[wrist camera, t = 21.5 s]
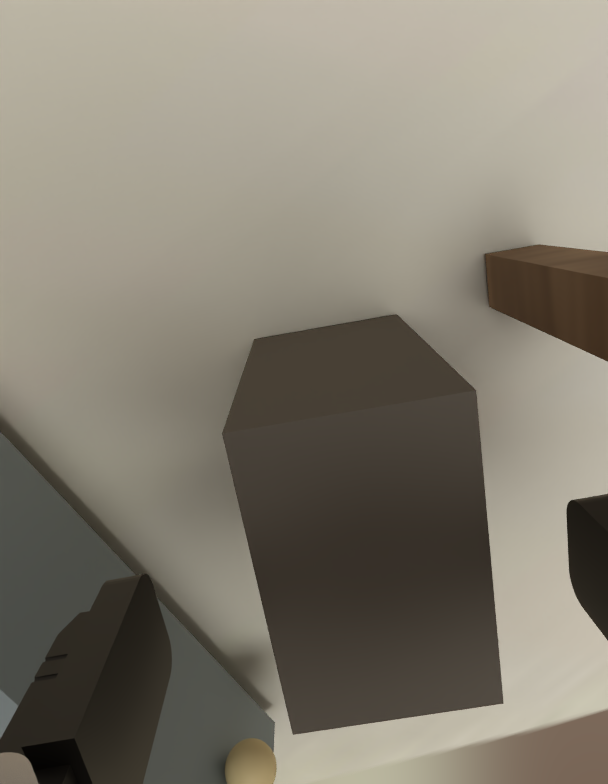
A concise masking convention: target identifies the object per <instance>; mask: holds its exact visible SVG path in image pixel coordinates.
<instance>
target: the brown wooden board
mask: <svg viewBox="0 0 608 784" xmlns="http://www.w3.org/2000/svg"><path fill="white" fill-rule="evenodd" d="M485 256H486V269H487V282H488V294H489V307H491V308H493V309H495V310H497V311H500V312H502V313H504V314H506V315H508V316H510V317H513V318H515V319H517V320H519V321H521V322H523V323H526V324H528V325H530V326H532V327H534V328H536V329H539V330H541V331H543V332H545V333H547V334H549V335H552V336H554V337H556V338H558V339H560V340H562V341H565V342H567V343H569V344H571V345H573V346H575V347H578V348H580V349H582V350H584V351H586V352H588V353H591V354H593V355H595V356H597V357H599V358H601V359H604V360H606V361H608V252H601V251H592V250H583V249H574V248H565V247H556V246H547V245H534V246H528V247H523V248H517V249H511V250H506V251H500V252H495V253H489V254H485Z"/></svg>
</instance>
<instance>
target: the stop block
mask: <svg viewBox="0 0 608 784" xmlns="http://www.w3.org/2000/svg"><path fill="white" fill-rule="evenodd" d="M222 434H223V439H224V443H225V447H226V451H227V456H228V460H229V464H230V469H231V473H232V477H233V481H234V486H235V490H236V494H237V498H238V503H239V507H240V511H241V515H242V520H243V524H244V528H245V532H246V537H247V541H248V545H249V550H250V554H251V558H252V562H253V567H254V571H255V575H256V579H257V584H258V588H259V592H260V596H261V601H262V605H263V609H264V614H265V618H266V622H267V626H268V631H269V635H270V639H271V643H272V648H273V652H274V656H275V660H276V665H277V669H278V673H279V677H280V682H281V686H282V690H283V695H284V699H285V703H286V707H287V712H288V716H289V720H290V724H291V729H292V733H293V734H300V733H307V732H314V731H320V730H327V729H334V728H341V727H347V726H354V725H361V724H368V723H374V722H381V721H388V720H395V719H401V718H408V717H415V716H422V715H429V714H435V713H442V712H449V711H456V710H462V709H469V708H476V707H483V706H489V705H496V704H503V694H502V682H501V671H500V659H499V648H498V636H497V625H496V613H495V602H494V591H493V579H492V568H491V556H490V545H489V533H488V522H487V511H486V499H485V488H484V476H483V465H482V453H481V442H480V431H479V419H478V408H477V396H476V390H475V389H474V388H473V387H472V386H471V385H470V384H469V383H468V382H467V381H466V380H465V379H464V378H463V377H461V376H460V375H459V374H458V373H457V372H456V371H455V370H454V369H453V368H452V367H451V366H450V365H449V364H448V363H447V362H446V361H445V360H444V359H443V358H442V357H441V356H440V355H439V354H438V353H436V352H435V351H434V350H433V349H432V348H431V347H430V346H429V345H428V344H427V343H426V342H425V341H424V340H423V339H422V338H421V337H420V336H419V335H418V334H417V333H416V332H415V331H414V330H413V329H411V328H410V327H409V326H408V325H407V324H406V323H405V322H404V321H403V320H402V319H401V318H400V317H399V316H398V315H391V316H385V317H380V318H374V319H368V320H363V321H357V322H351V323H346V324H340V325H334V326H328V327H323V328H317V329H311V330H306V331H300V332H294V333H289V334H283V335H277V336H272V337H266V338H260V339H254V342H253V345H252V348H251V351H250V353H249V356H248V359H247V362H246V365H245V368H244V371H243V374H242V377H241V380H240V383H239V386H238V389H237V392H236V395H235V398H234V400H233V403H232V406H231V409H230V412H229V415H228V418H227V421H226V424H225V427H224V430H223V433H222Z"/></svg>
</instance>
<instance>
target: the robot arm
mask: <svg viewBox="0 0 608 784" xmlns="http://www.w3.org/2000/svg"><path fill="white" fill-rule="evenodd" d="M567 533H568V555H569V573H570V579H571V583H572V586H573V589H574V592H575V594H576V597H577V599H578V601H579V602H580V604H581V606H582V607H583V608H584V610H585V611H586V612H587V614H588V615H589V616H590V618H591V619H592V620H593V622H594V623H595V624H596V626H597V627H598V628H599V630H600V631H601V632H602V633H603V635H604V636H605V637H606V639H607V640H608V494H605V495H599V496H593V497H588V498H582V499H576V500H571V501H570V502H569V503H568V505H567ZM171 669H172V651H171V644H170V639H169V635H168V632H167V629H166V626H165V623H164V619H163V616H162V613H161V610H160V606H159V603H158V600H157V597H156V593H155V590H154V587H153V584H152V581H151V579H150V577H149V576H148V575H147V574H141V575H135V576H130V577H124V578H118V579H113V580H107V581H106V582H105V583H104V584H103V585H102V587H101V589H100V591H99V593H98V595H97V597H96V599H95V601H94V603H93V605H92V607H91V609H90V611H87V612H81V613H79V614H78V615H77V616H76V617H75V618H74V619H73V620H72V621H71V622H70V623H69V624H68V625H67V626H66V627H65V628H64V629H63V630H62V631H61V632H60V633H59V634H58V635H57V637H56V639H55V641H54V642H53V644H52V646H51V648H50V650H49V651H48V653H47V655H46V657H45V662H42V664H41V666H40V668H39V670H38V671H37V673H36V675H35V677H34V678H35V681H34V682H31V684H30V686H29V688H28V690H27V691H26V693H25V695H24V697H23V699H22V701H21V702H20V704H19V706H18V708H17V710H16V711H15V713H14V715H13V717H12V719H11V720H10V722H9V724H8V726H7V728H6V730H5V731H4V733H3V735H2V737H1V739H0V784H143V781H144V777H145V773H146V769H147V766H148V762H149V758H150V754H151V750H152V746H153V742H154V738H155V734H156V730H157V726H158V722H159V718H160V715H161V711H162V707H163V703H164V699H165V695H166V691H167V687H168V683H169V679H170V675H171Z"/></svg>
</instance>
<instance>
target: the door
mask: <svg viewBox="0 0 608 784" xmlns="http://www.w3.org/2000/svg"><path fill="white" fill-rule="evenodd" d="M130 576H135V574H134V573H133V572H132V571H131V570H130V568H129V567H128V566H127V565H126V564H125V563H124V562H123V561H122V560H121V559H120V558H119V557H118V556H117V555H116V554H115V553H114V551H113V550H112V549H111V548H110V547H109V546H108V545H107V544H106V543H105V542H104V541H103V540H102V539H101V538H100V537H99V536H98V535H97V533H96V532H95V531H94V530H93V529H92V528H91V527H90V526H89V525H88V524H87V523H86V522H85V521H84V520H83V519H82V518H81V516H80V515H79V514H78V513H77V512H76V511H75V510H74V509H73V508H72V507H71V506H70V505H69V504H68V503H67V502H66V501H65V499H64V498H63V497H62V496H61V495H60V494H59V493H58V492H57V491H56V490H55V489H54V488H53V487H52V486H51V485H50V484H49V483H48V481H47V480H46V479H45V478H44V477H43V476H42V475H41V474H40V473H39V472H38V471H37V470H36V469H35V468H34V467H33V466H32V464H31V463H30V462H29V461H28V460H27V459H26V458H25V457H24V456H23V455H22V454H21V453H20V452H19V451H18V450H17V449H16V448H15V446H14V445H13V444H12V443H11V442H10V441H9V440H8V439H7V438H6V437H5V436H4V435H3V434H2V433H1V432H0V739H1V737H2V735H3V733H4V731H5V730H6V728H7V726H8V724H9V722H10V720H11V719H12V717H13V715H14V713H15V711H16V710H17V708H18V706H19V704H20V702H21V701H22V699H23V697H24V695H25V693H26V691H27V690H28V688H29V686H30V684H31V682H34V681H35V678H34V677H35V675H36V673H37V671H38V670H39V668H40V666H41V664H42V662H45V657H46V655H47V653H48V651H49V650H50V648H51V646H52V644H53V642H54V641H55V639H56V637H57V635H58V634H59V633H60V632H61V631H62V630H63V629H64V628H65V627H66V626H67V625H68V624H69V623H70V622H71V621H72V620H73V619H74V618H75V617H76V616H77V615H78V614H79V613H81V612H87V611H90V609H91V607H92V605H93V603H94V601H95V599H96V597H97V595H98V593H99V591H100V589H101V587H102V585H103V584H104V583H105V582H106V581H107V580H113V579H118V578H124V577H130ZM157 600H158V603H159V606H160V610H161V613H162V616H163V619H164V623H165V626H166V629H167V632H168V635H169V639H170V644H171V651H172V669H171V675H170V679H169V683H168V687H167V691H166V695H165V699H164V703H163V707H162V711H161V715H160V718H159V722H158V726H157V730H156V734H155V738H154V742H153V746H152V750H151V754H150V758H149V762H148V766H147V769H146V773H145V777H144V781H143V784H273V782H274V780H275V776H276V769H277V768H276V759H275V756H274V753H273V752H274V728H275V722H274V721H273V720H272V719H271V718H270V717H269V716H268V715H267V714H266V713H265V712H264V711H263V710H262V708H261V707H260V706H259V705H258V704H257V703H256V702H255V701H254V700H253V699H252V698H251V697H250V696H249V695H248V694H247V693H246V691H245V690H244V689H243V688H242V687H241V686H240V685H239V684H238V683H237V682H236V681H235V680H234V679H233V678H232V677H231V676H230V675H229V673H228V672H227V671H226V670H225V669H224V668H223V667H222V666H221V665H220V664H219V663H218V662H217V661H216V660H215V659H214V658H213V656H212V655H211V654H210V653H209V652H208V651H207V650H206V649H205V648H204V647H203V646H202V645H201V644H200V643H199V642H198V641H197V640H196V638H195V637H194V636H193V635H192V634H191V633H190V632H189V631H188V630H187V629H186V628H185V627H184V626H183V625H182V624H181V623H180V621H179V620H178V619H177V618H176V617H175V616H174V615H173V614H172V613H171V612H170V611H169V610H168V609H167V608H166V607H165V606H164V605H163V603H162V602H161V601H160V600H159V599H158V598H157Z"/></svg>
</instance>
